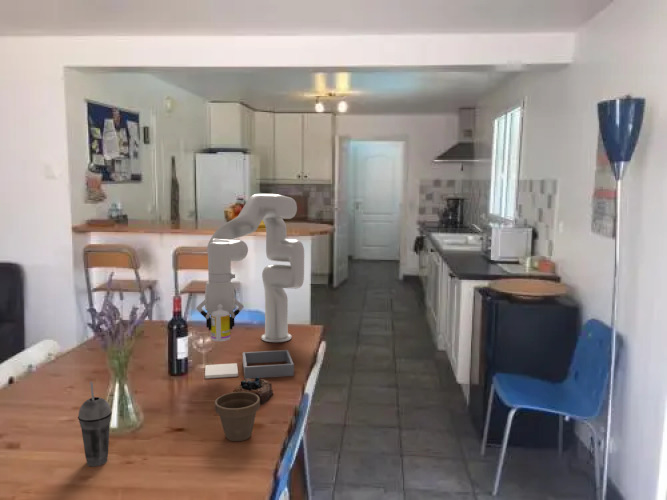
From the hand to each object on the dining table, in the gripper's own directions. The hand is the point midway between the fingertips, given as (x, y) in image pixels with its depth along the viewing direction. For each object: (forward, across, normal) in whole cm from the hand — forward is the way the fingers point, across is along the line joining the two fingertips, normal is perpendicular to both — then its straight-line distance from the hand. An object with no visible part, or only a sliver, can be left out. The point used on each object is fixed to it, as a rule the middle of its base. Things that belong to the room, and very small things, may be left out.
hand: (220, 328), depth 191 cm
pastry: (+16, -10, +25) cm, 31 cm away
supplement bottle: (+4, 0, 0) cm, 4 cm away
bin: (+15, -16, 0) cm, 22 cm away
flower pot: (+16, -4, +51) cm, 53 cm away
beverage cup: (+16, +29, +58) cm, 67 cm away
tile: (+15, 0, 0) cm, 15 cm away
